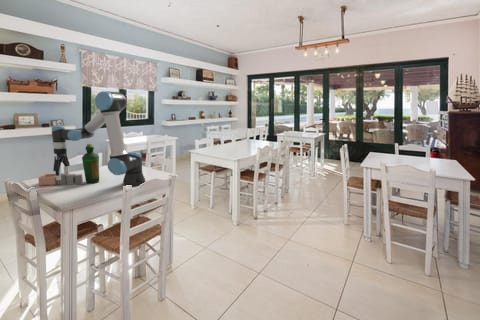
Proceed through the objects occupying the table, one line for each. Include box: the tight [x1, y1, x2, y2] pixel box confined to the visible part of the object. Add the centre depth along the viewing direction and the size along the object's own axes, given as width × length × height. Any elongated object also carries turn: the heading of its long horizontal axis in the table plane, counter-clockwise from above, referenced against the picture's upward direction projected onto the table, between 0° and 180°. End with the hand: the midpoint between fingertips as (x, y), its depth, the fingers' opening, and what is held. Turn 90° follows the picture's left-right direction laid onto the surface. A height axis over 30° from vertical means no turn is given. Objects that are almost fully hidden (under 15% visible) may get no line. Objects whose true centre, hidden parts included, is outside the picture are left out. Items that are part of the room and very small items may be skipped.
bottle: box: [81, 143, 100, 185], centre depth 196 cm, size 11×11×28 cm
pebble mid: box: [66, 173, 76, 185], centre depth 194 cm, size 4×4×6 cm
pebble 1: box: [58, 172, 68, 185], centre depth 193 cm, size 4×4×7 cm
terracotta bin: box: [37, 172, 62, 187], centre depth 192 cm, size 10×10×6 cm
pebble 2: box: [74, 173, 84, 185], centre depth 195 cm, size 4×4×6 cm
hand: (62, 177), depth 193 cm, fingers open, 13 cm apart
